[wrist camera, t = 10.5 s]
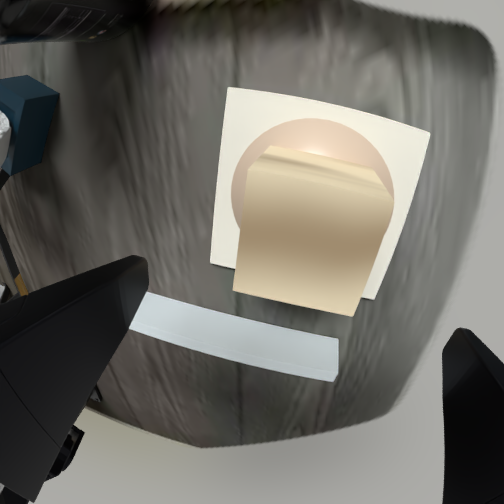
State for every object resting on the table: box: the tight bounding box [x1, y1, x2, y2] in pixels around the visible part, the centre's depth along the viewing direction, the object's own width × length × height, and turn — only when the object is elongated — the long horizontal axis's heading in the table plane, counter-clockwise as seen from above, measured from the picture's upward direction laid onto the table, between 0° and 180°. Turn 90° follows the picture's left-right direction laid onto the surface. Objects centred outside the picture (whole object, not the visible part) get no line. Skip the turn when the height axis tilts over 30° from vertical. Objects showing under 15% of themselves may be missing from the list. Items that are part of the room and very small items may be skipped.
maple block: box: [233, 145, 395, 317], centre depth 13 cm, size 5×5×5 cm
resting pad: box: [210, 87, 431, 300], centre depth 15 cm, size 10×10×1 cm
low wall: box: [129, 292, 338, 382], centre depth 19 cm, size 1×14×3 cm, turn 82°
